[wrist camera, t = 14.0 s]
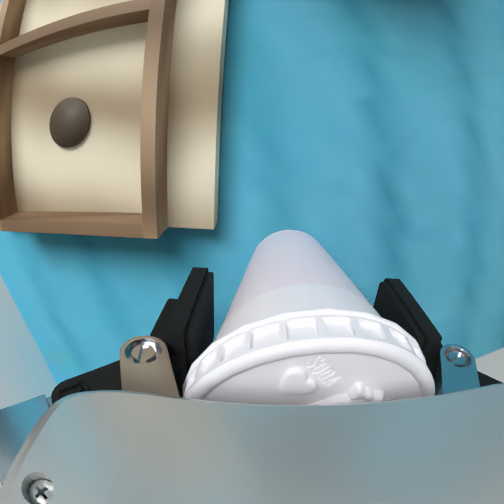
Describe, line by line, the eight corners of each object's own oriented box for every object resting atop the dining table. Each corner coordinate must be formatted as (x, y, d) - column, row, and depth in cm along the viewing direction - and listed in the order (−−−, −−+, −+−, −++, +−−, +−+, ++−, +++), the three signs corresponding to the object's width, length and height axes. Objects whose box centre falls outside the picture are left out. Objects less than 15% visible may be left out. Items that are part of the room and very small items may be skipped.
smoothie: (201, 284, 16) (104, 578, 3) (266, 174, 13) (261, 629, 1) (305, 336, 17) (332, 599, 4) (377, 245, 14) (544, 516, 2)
